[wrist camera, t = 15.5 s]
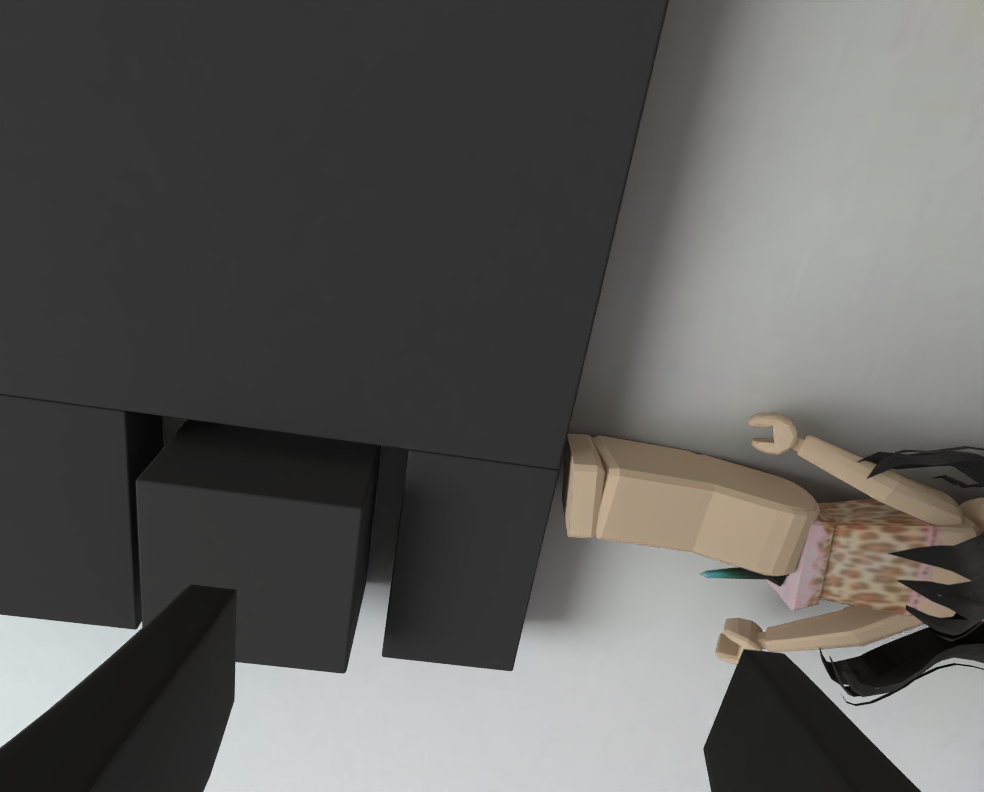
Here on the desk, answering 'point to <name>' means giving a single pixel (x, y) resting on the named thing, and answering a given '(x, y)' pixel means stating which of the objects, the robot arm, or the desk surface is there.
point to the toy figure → (806, 544)
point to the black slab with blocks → (307, 270)
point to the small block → (262, 536)
